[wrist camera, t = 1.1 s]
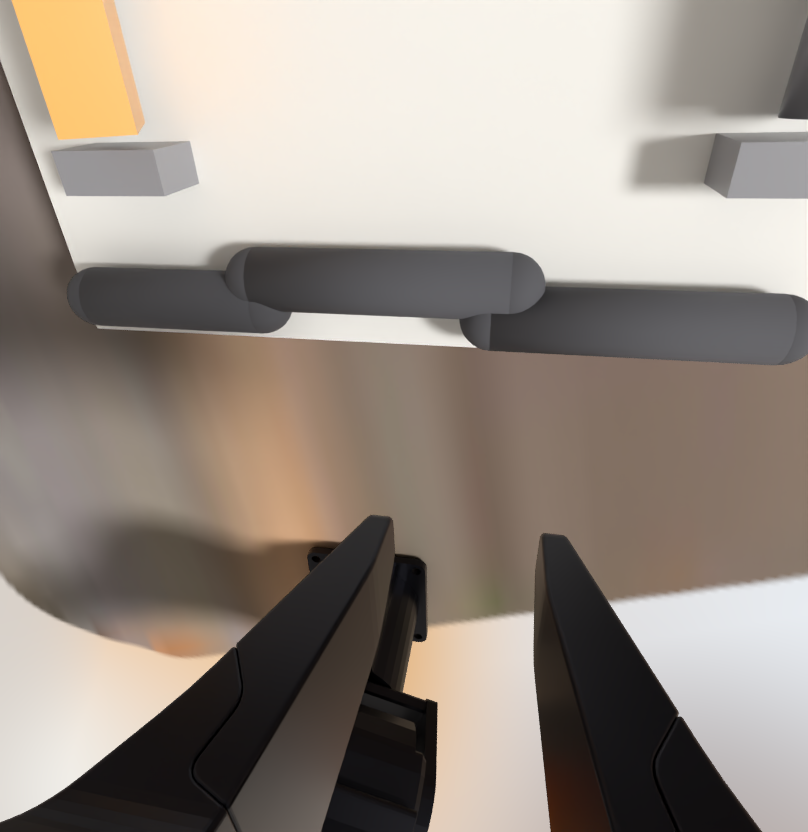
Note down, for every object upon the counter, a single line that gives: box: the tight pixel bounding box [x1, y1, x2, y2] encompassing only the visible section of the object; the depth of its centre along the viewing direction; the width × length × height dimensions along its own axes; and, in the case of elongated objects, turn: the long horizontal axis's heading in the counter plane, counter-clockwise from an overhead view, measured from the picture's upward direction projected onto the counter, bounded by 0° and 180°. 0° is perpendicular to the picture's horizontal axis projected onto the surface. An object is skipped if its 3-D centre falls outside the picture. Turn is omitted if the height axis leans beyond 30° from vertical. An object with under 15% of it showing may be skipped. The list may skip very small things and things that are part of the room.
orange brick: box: [12, 0, 145, 140], centre depth 13 cm, size 4×2×5 cm, turn 2°
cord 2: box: [67, 247, 808, 365], centre depth 17 cm, size 3×24×2 cm, turn 92°
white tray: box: [0, 0, 808, 348], centre depth 14 cm, size 18×24×5 cm
